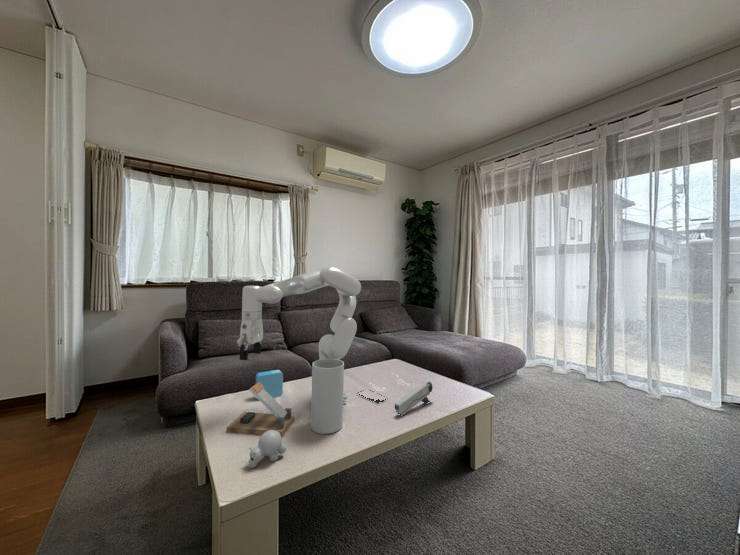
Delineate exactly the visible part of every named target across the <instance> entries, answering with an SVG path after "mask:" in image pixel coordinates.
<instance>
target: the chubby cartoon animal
mask: <svg viewBox="0 0 740 555" xmlns="http://www.w3.org/2000/svg"><path fill="white" fill-rule="evenodd" d="M282 439H283V437H281V435H280V432H277V431H275V430H269V431H266V432H265V433H263V434H262V435H260V437H259V438H258V445H257V446H255V447H253V448H252V447H249V448H248V449H249V450H250V453H249V459H248V460H245V464H246V465H247V466H248V467H249V469H255V468H256V467H257V465H258V463H259V462H260V461H261V460H263V457H264V456H265V457H266V458H269V460H270V462H271V463H272V462H276V461H277V460H278V459H279V454H280V455H283V454H284V453H285V452H286V450H287V446H286V445H285V444H284V443H283V440H282Z"/></svg>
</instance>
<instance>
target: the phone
mask: <svg viewBox="0 0 740 555" xmlns="http://www.w3.org/2000/svg"><path fill="white" fill-rule="evenodd" d="M364 390H365V389H363V390H361V391H359V392H362V391H364ZM369 390H370V389H369ZM370 391H372V390H370ZM359 392H357V393H356V394H358V393H359ZM372 392H374V391H372ZM378 394H379V393H378ZM359 395H360V394H359ZM379 395H381V394H379ZM361 396H363V395H361ZM381 396H383V395H381ZM363 397H364V396H363ZM363 397H362V398H363ZM385 397H386V396H385ZM365 398H366V397H365ZM365 398H364V399H365ZM386 398H387V399H388V397H386ZM367 399H369V400H371V401H374V399H370V398H367ZM367 399H366V400H367ZM369 400H368V401H369ZM385 400H386V399H385ZM371 401H370V402H371ZM383 401H384V400H382V401H380V400H379V399H378V400H376V401H374V402H375V403H379V402H382V403H383ZM384 402H385V401H384ZM375 403H374V404H375Z"/></svg>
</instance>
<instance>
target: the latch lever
mask: <svg viewBox="0 0 740 555" xmlns="http://www.w3.org/2000/svg"><path fill="white" fill-rule="evenodd" d="M263 388H264V386H263V385H262V384H261V383H260V382H258V383H257V384H256V383H255V384H254V385H252V387H250V388H249V390H248V391H249V392H251V394H253V396H255V398H256V397H257V398H258V399H259V400H258V399H257V398H256V399H257V400H258V401H259V402H260V403H261V404H263V405H264V406H265V407H266V408H267V409H268V410H269V411H270V412H271V414H274V415H275V416H276V417H284V416H285V415H286V414H287V413H288V412H287V411H286V410H285V408H284V407H283V406H282V405H281V404H280V403H279V402H278V401H277V400H276V398H275V397H274V398H275V399H274V398H273V397H272V396H271V395H269V394H268V393H267V392H266V391H265V390H264V389H263Z"/></svg>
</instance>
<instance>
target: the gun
mask: <svg viewBox="0 0 740 555" xmlns="http://www.w3.org/2000/svg"><path fill="white" fill-rule="evenodd" d="M432 391H433V383H432V382H431V381H428V382H423V383H421V385H419V386H417V387H416V388H415V389H413V390H412V391H410V392H409V393H408V394H407V395H405V396H404V397H402V398H401V399H400V400H398V401H397V402H395V403H394V410H395V412H396V413H397V415H398V414H400V415H402V416H404V415H405V414H406V413H407V412H409V411H410V410H411V409H413V408H414V407H415V406H416V405H418V404H419V403H420V402H422V403H423V402H424V403H428V402H430V403H431V401H430V400H429V398H428V396H429V395H430V394H431V392H432ZM424 403H423V404H424ZM403 414H404V415H403Z"/></svg>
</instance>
